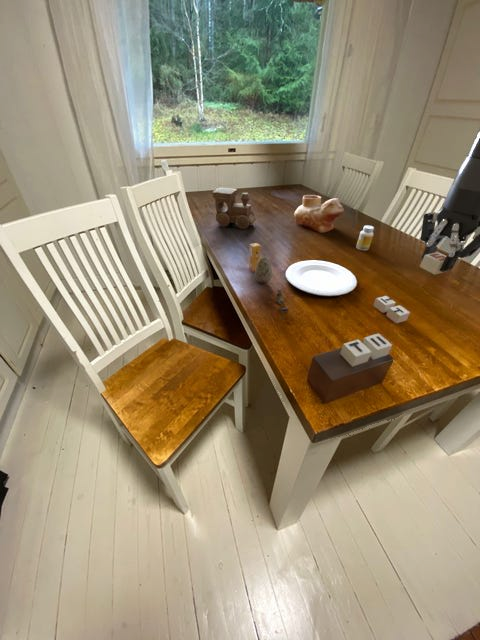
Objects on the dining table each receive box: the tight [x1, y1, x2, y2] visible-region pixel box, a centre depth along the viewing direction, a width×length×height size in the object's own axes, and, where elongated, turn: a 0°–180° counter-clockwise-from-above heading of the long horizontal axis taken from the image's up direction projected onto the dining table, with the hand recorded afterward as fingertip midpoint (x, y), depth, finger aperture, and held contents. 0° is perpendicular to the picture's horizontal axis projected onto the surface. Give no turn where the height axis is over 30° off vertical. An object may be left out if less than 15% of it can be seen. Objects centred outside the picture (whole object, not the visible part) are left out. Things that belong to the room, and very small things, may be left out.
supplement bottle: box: [355, 224, 375, 252], centre depth 118 cm, size 5×5×10 cm
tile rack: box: [306, 340, 395, 405], centre depth 61 cm, size 7×16×8 cm, turn 111°
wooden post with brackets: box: [275, 288, 289, 313], centre depth 86 cm, size 2×8×4 cm, turn 11°
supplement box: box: [248, 242, 262, 273], centre depth 102 cm, size 3×3×10 cm
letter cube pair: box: [372, 295, 411, 324], centre depth 83 cm, size 10×4×3 cm, turn 21°
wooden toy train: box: [212, 187, 257, 230], centre depth 138 cm, size 20×11×17 cm, turn 72°
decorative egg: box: [254, 256, 273, 284], centre depth 94 cm, size 6×6×10 cm
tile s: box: [419, 251, 448, 276], centre depth 62 cm, size 4×4×3 cm
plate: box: [285, 259, 358, 297], centre depth 98 cm, size 25×25×2 cm
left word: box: [340, 332, 393, 367], centre depth 58 cm, size 4×10×3 cm, turn 111°
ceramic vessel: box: [293, 194, 345, 234], centre depth 138 cm, size 14×26×15 cm, turn 41°
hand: (434, 265), depth 62 cm, fingers closed on tile s, 4 cm apart
